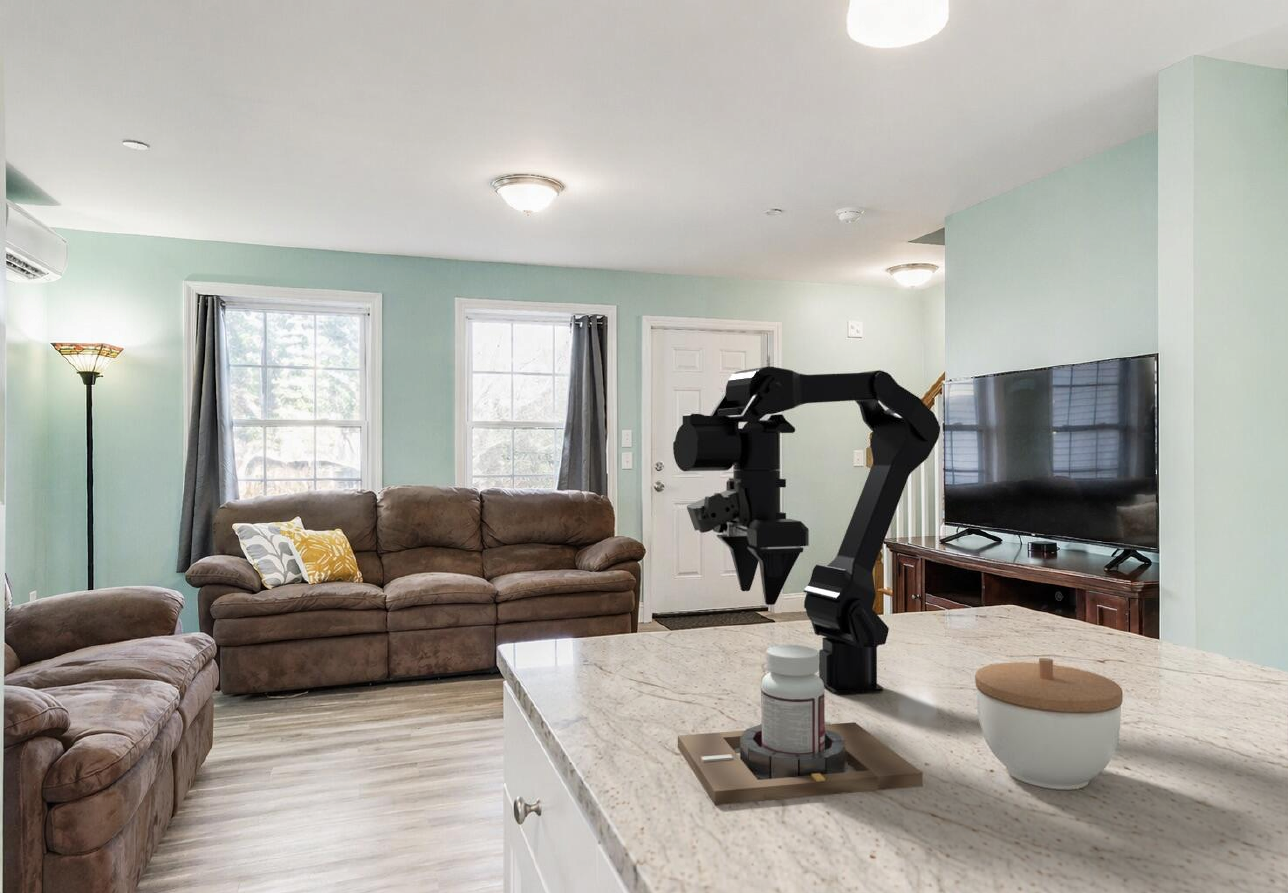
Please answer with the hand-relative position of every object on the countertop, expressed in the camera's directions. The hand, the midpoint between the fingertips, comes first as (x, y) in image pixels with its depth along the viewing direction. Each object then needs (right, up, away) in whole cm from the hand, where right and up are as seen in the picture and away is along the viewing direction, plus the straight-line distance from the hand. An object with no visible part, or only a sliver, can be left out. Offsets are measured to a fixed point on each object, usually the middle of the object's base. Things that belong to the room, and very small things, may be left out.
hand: (757, 597), depth 99 cm
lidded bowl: (+25, -13, -22) cm, 35 cm away
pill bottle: (+1, -13, -19) cm, 23 cm away
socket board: (+1, -13, -19) cm, 23 cm away
